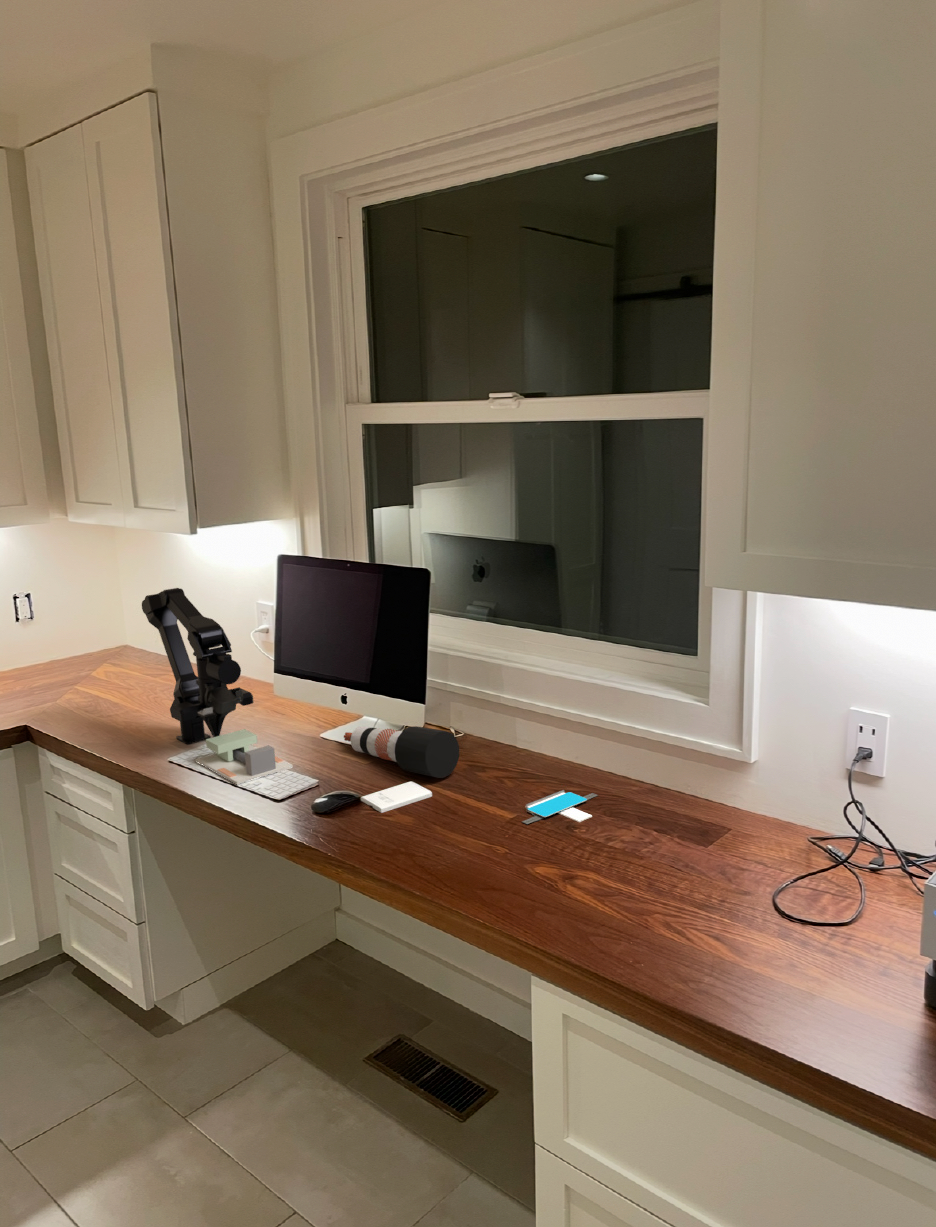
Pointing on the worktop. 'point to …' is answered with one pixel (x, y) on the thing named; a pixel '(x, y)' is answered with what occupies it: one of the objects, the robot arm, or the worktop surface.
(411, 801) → the external hard drive
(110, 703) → the worktop surface
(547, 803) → the phone stand
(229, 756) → the green block
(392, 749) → the banded black grey cylinder
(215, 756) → the board
